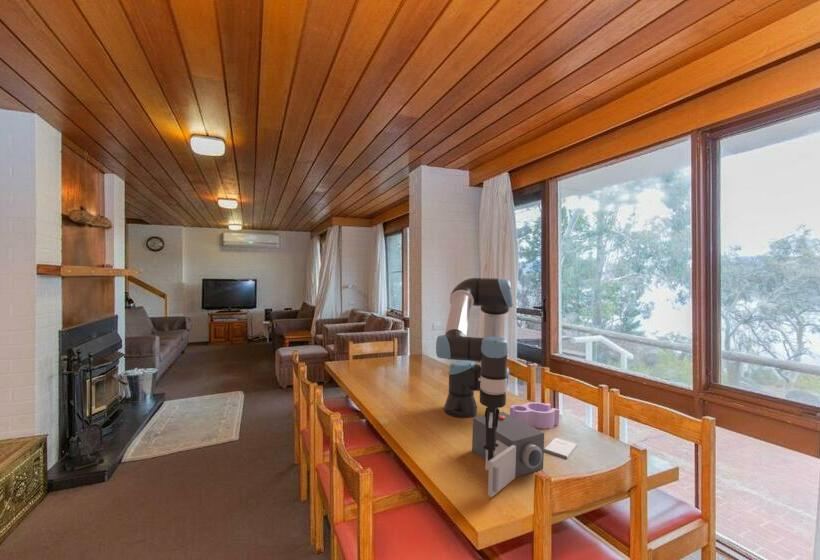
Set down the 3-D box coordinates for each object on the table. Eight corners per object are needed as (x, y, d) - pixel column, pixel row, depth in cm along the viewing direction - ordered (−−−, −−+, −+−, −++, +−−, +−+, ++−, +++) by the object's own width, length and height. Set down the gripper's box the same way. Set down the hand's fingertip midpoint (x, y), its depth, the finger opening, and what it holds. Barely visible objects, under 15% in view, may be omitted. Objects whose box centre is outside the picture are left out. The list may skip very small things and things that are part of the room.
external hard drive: (543, 453, 132) (554, 441, 142) (567, 460, 127) (577, 447, 137) (543, 448, 132) (554, 436, 142) (567, 456, 127) (577, 443, 137)
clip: (518, 431, 149) (519, 414, 149) (505, 418, 161) (505, 403, 161) (562, 428, 153) (563, 412, 153) (546, 416, 165) (546, 401, 165)
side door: (494, 498, 102) (495, 463, 102) (487, 495, 104) (488, 460, 103) (518, 479, 112) (519, 447, 112) (511, 476, 114) (512, 444, 113)
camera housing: (471, 450, 132) (472, 415, 131) (501, 442, 138) (502, 409, 138) (518, 484, 111) (519, 442, 111) (550, 473, 118) (551, 434, 118)
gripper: (482, 382, 114) (480, 456, 115) (477, 396, 102) (474, 478, 102) (507, 385, 112) (504, 460, 112) (505, 399, 99) (502, 484, 100)
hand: (490, 469), depth 107 cm, fingers closed
